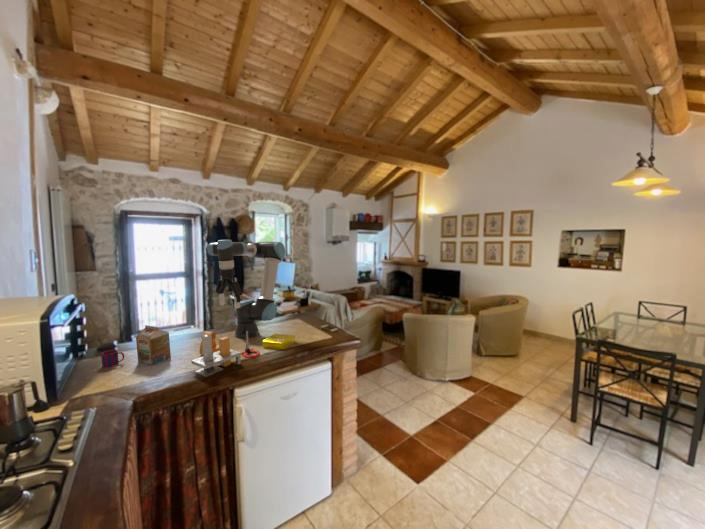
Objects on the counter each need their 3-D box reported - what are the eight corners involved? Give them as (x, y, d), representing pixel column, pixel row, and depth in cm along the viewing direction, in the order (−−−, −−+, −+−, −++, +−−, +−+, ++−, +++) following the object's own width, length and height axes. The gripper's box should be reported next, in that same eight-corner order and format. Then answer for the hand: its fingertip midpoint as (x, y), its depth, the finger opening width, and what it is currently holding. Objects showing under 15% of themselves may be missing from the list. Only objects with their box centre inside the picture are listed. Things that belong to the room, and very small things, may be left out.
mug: (109, 362, 161) (107, 350, 160) (128, 361, 161) (127, 349, 160) (98, 367, 154) (97, 354, 154) (118, 367, 154) (117, 354, 154)
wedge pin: (226, 362, 157) (225, 336, 156) (230, 364, 155) (229, 337, 154) (220, 365, 154) (218, 338, 153) (224, 366, 152) (222, 339, 151)
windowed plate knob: (227, 358, 162) (225, 326, 161) (241, 363, 156) (239, 329, 154) (192, 372, 147) (189, 336, 145) (206, 378, 140) (203, 340, 138)
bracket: (210, 356, 166) (209, 335, 165) (199, 355, 168) (198, 334, 167) (224, 349, 176) (222, 329, 175) (213, 348, 178) (212, 328, 177)
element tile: (296, 341, 188) (295, 334, 188) (283, 350, 174) (283, 342, 173) (275, 339, 193) (274, 332, 192) (261, 348, 179) (260, 340, 178)
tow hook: (262, 355, 168) (253, 350, 174) (262, 332, 166) (252, 328, 172) (249, 360, 162) (239, 355, 168) (248, 336, 160) (239, 332, 166)
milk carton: (138, 363, 159) (135, 328, 157) (157, 355, 169) (154, 322, 167) (151, 366, 155) (148, 330, 153) (170, 358, 165) (168, 324, 163)
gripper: (206, 268, 167) (210, 305, 170) (235, 270, 154) (238, 311, 156) (219, 266, 173) (222, 302, 176) (247, 268, 160) (250, 307, 163)
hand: (230, 306), depth 166 cm, fingers open, 13 cm apart
